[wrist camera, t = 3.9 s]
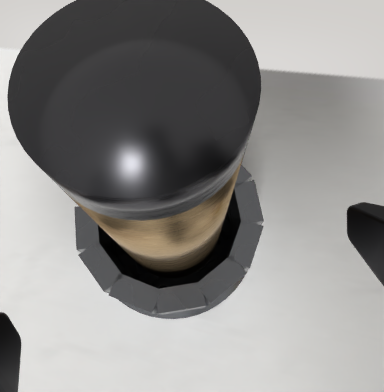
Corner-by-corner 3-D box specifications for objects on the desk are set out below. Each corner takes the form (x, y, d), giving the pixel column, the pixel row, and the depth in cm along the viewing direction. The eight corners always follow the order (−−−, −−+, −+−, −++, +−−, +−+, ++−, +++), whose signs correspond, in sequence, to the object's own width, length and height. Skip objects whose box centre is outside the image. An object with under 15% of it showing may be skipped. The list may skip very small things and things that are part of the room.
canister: (199, 292, 18) (209, 239, 6) (111, 258, 19) (-43, 144, 7) (230, 206, 20) (291, 22, 7) (149, 177, 20) (79, -39, 8)
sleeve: (221, 346, 18) (229, 354, 14) (66, 281, 19) (32, 271, 15) (272, 192, 21) (291, 161, 17) (133, 144, 22) (120, 104, 18)
